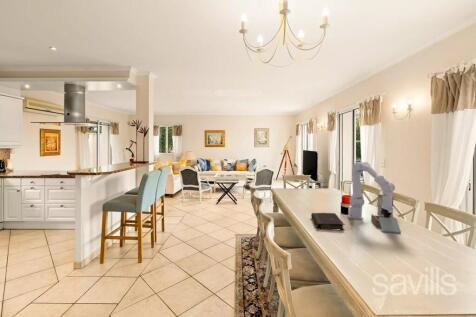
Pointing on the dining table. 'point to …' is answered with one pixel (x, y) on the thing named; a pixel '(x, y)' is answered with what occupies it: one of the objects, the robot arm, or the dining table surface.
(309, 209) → the dining table surface
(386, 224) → the cover plate
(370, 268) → the dining table surface
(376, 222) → the wooden box
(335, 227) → the diary
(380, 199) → the coffee box
